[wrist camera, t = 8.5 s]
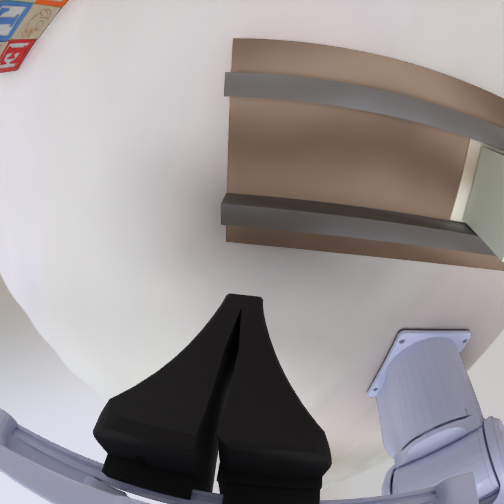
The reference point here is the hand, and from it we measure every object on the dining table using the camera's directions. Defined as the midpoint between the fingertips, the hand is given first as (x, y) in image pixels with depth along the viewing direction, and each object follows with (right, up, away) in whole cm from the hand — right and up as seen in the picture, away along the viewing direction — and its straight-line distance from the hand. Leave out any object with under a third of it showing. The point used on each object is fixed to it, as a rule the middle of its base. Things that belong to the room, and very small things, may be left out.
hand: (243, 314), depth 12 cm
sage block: (+16, +6, +3) cm, 18 cm away
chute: (+10, +8, +4) cm, 13 cm away
